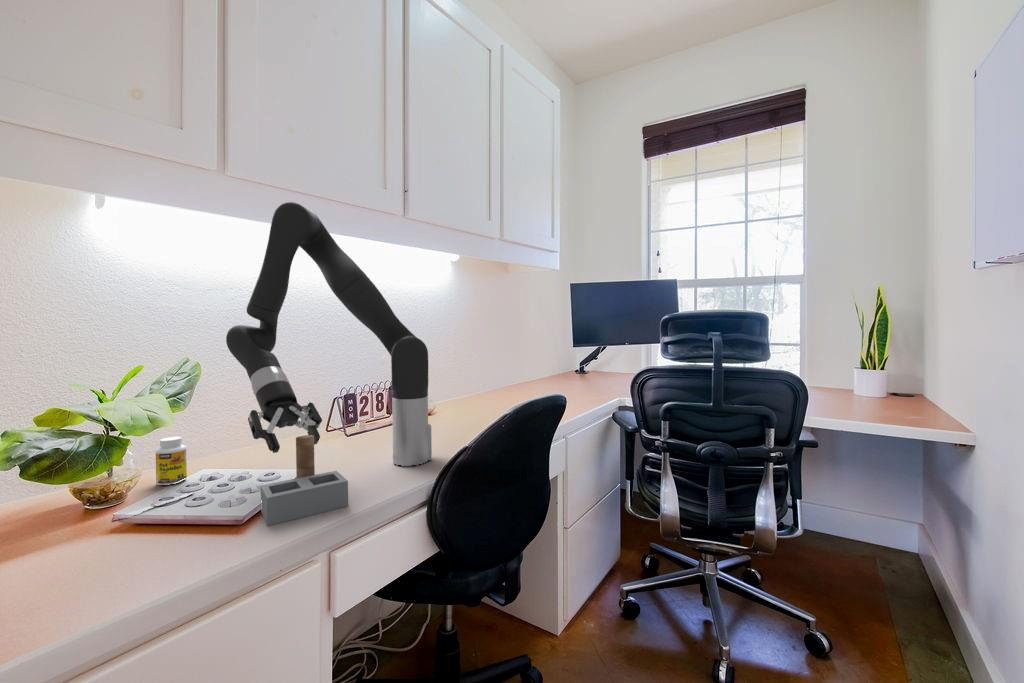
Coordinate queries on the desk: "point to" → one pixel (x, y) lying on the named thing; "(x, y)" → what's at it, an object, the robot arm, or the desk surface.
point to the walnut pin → (305, 456)
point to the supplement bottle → (171, 461)
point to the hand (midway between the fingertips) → (297, 446)
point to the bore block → (303, 497)
